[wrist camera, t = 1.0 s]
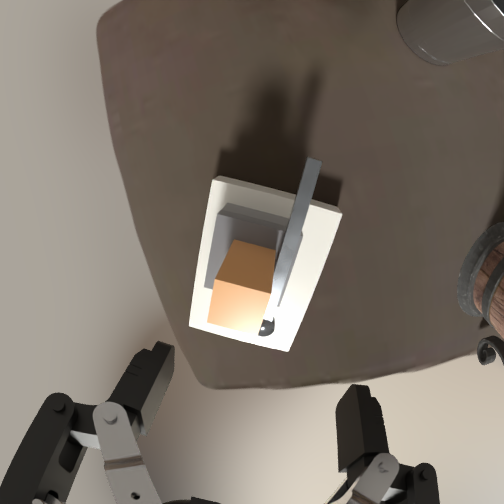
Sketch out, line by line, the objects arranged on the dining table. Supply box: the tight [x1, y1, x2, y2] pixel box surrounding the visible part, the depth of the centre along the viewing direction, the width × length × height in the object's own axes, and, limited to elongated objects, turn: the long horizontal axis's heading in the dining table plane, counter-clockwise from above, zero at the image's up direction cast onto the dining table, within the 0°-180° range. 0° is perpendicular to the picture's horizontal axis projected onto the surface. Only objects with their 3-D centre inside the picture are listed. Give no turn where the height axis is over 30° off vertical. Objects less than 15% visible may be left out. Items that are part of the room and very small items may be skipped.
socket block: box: [189, 175, 342, 352], centre depth 32 cm, size 20×14×8 cm
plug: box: [204, 210, 303, 336], centre depth 25 cm, size 8×8×12 cm
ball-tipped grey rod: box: [258, 156, 322, 337], centre depth 25 cm, size 18×2×1 cm, turn 167°
